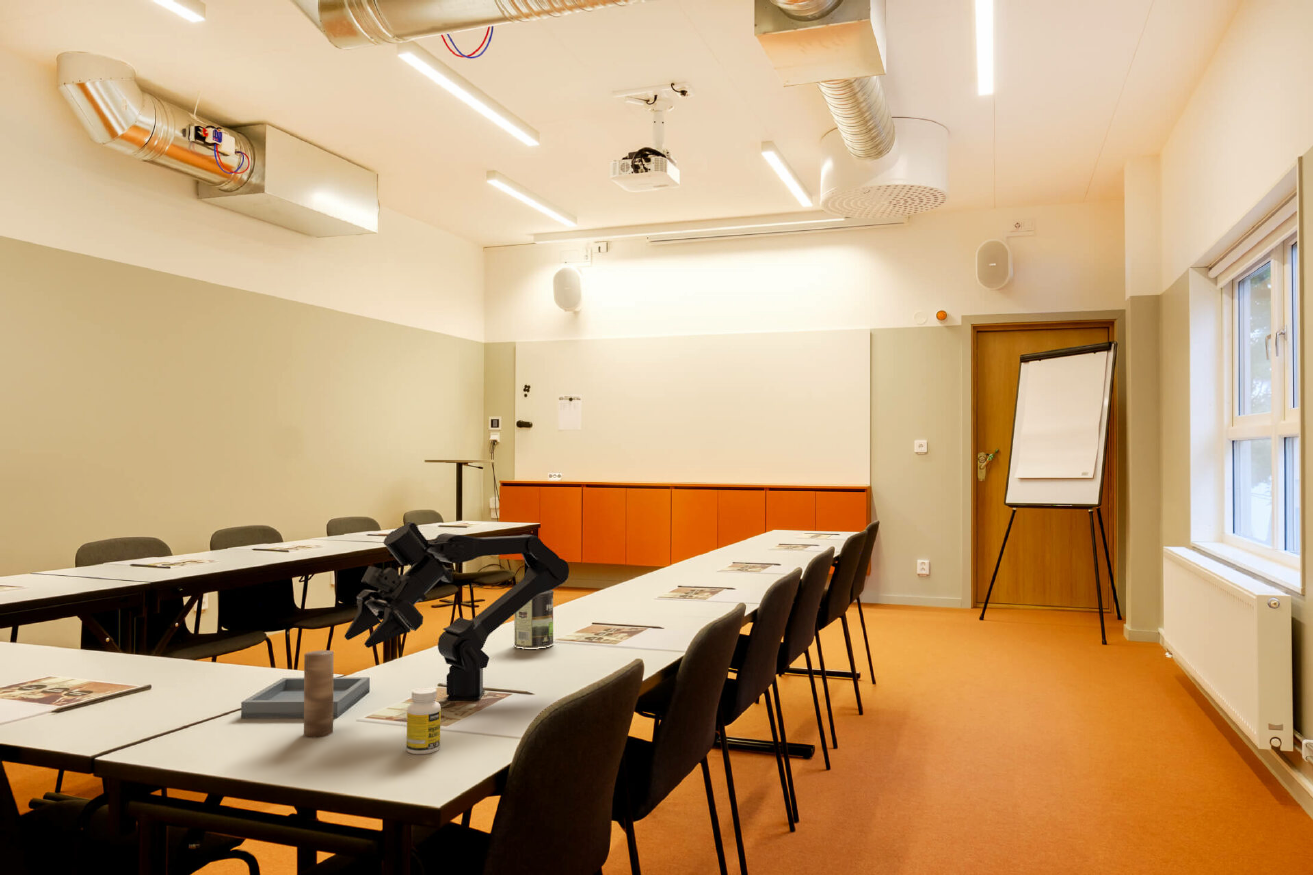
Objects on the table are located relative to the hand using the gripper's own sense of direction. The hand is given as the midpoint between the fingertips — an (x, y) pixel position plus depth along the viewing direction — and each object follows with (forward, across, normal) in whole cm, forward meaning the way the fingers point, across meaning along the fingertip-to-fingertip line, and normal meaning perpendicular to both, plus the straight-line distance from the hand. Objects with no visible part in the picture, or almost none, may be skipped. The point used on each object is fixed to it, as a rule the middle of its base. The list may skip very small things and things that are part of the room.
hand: (355, 642), depth 158 cm
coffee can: (-37, -31, +50) cm, 69 cm away
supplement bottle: (+8, +24, +12) cm, 28 cm away
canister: (+15, +3, +6) cm, 17 cm away
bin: (+11, -16, +9) cm, 22 cm away
